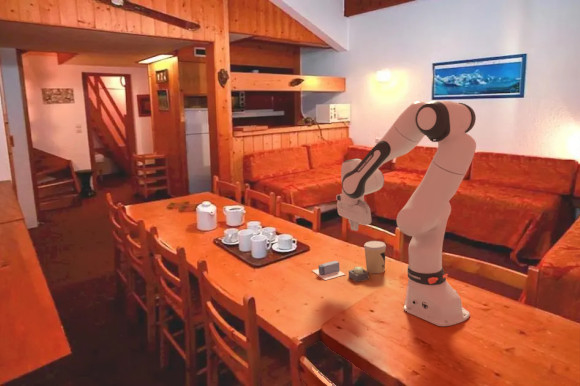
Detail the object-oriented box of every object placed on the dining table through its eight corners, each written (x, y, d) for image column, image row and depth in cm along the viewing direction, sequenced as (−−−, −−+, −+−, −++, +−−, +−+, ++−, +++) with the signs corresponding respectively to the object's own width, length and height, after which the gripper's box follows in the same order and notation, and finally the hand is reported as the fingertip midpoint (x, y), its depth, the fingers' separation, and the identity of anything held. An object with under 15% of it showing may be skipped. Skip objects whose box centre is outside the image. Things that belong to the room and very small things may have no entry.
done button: (365, 277, 169) (364, 269, 169) (357, 280, 168) (357, 271, 167) (359, 274, 173) (359, 266, 172) (352, 276, 171) (352, 268, 171)
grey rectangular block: (336, 268, 181) (335, 260, 180) (339, 270, 179) (339, 262, 178) (318, 273, 178) (318, 265, 177) (321, 275, 175) (321, 267, 174)
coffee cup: (386, 274, 172) (386, 247, 170) (364, 274, 174) (363, 247, 172) (386, 265, 181) (385, 240, 178) (365, 265, 183) (364, 240, 180)
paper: (345, 274, 175) (345, 274, 175) (325, 280, 171) (325, 279, 171) (331, 266, 185) (331, 265, 185) (312, 271, 182) (312, 270, 181)
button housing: (368, 278, 169) (368, 272, 168) (356, 282, 167) (356, 275, 166) (360, 274, 174) (360, 267, 174) (348, 277, 172) (348, 270, 171)
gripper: (374, 201, 157) (375, 234, 160) (346, 192, 175) (347, 223, 178) (361, 203, 154) (362, 238, 157) (333, 195, 173) (335, 226, 176)
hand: (354, 230), depth 168 cm, fingers closed
